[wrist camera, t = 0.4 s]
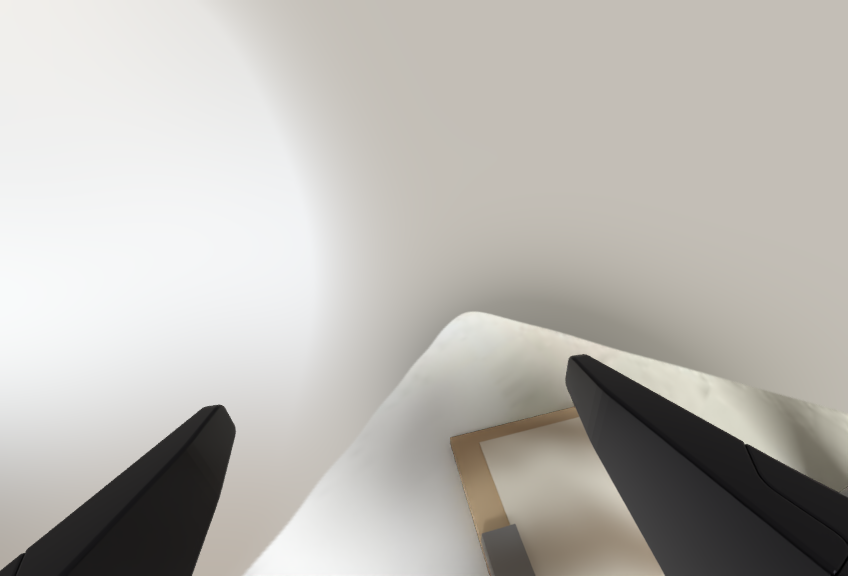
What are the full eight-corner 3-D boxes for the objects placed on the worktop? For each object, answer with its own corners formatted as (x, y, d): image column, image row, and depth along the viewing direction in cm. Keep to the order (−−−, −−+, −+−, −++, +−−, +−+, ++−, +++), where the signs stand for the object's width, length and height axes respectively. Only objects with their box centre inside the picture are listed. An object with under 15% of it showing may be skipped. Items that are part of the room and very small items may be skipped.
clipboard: (962, 810, 12) (1009, 815, 11) (614, 991, 10) (630, 1016, 9) (617, 401, 27) (623, 386, 26) (450, 443, 25) (449, 429, 24)
